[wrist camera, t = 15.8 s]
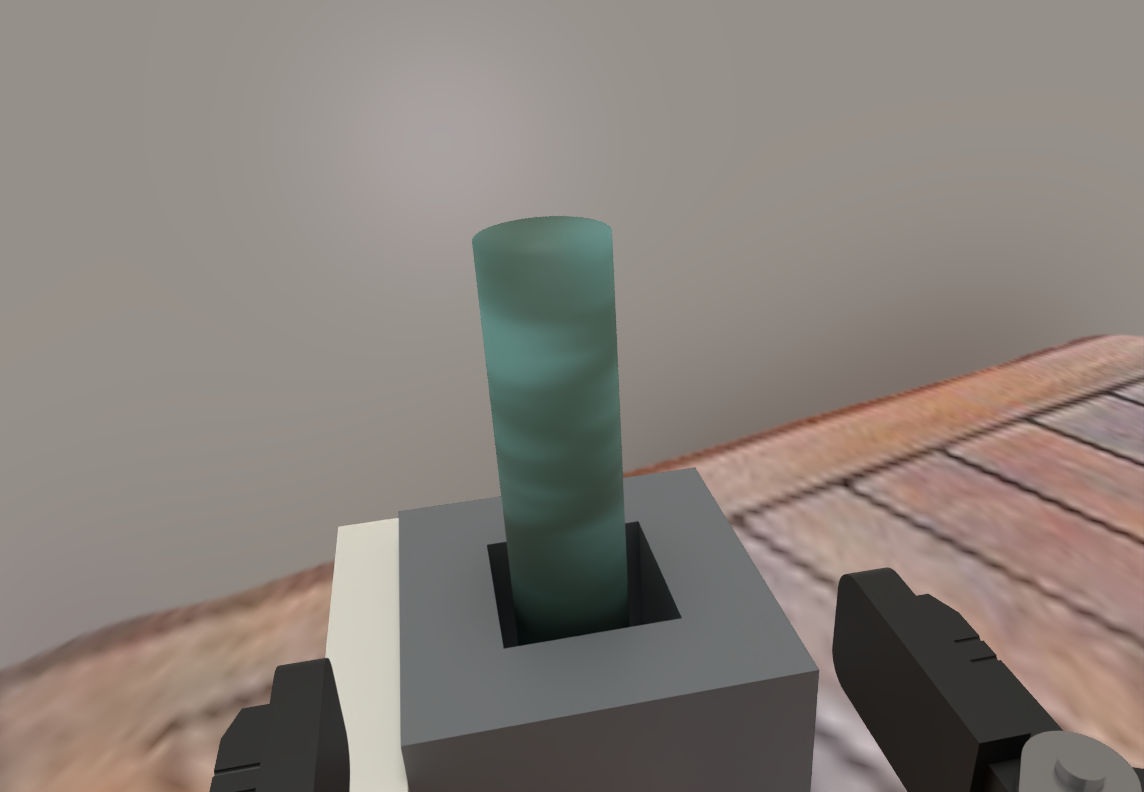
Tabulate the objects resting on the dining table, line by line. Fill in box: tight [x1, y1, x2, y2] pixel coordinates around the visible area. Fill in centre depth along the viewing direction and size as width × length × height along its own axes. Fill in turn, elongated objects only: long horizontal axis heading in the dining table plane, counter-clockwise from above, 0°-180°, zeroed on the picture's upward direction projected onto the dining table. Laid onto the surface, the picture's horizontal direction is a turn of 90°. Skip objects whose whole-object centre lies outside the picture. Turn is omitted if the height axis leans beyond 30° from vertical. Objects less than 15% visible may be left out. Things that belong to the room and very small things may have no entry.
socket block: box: [399, 468, 819, 792], centre depth 30 cm, size 11×11×7 cm
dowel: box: [472, 216, 630, 646], centre depth 27 cm, size 4×4×16 cm
